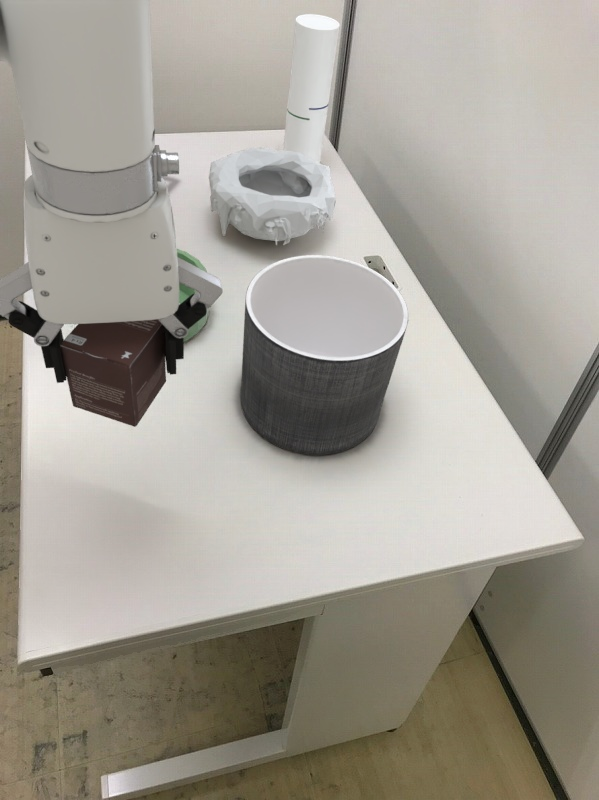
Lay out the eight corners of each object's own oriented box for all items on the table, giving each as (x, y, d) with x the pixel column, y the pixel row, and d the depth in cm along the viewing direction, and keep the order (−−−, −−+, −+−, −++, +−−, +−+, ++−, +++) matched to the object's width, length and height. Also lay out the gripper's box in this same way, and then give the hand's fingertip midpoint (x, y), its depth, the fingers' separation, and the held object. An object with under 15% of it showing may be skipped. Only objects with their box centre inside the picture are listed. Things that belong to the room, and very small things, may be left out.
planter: (230, 446, 75) (234, 348, 63) (249, 344, 87) (255, 245, 75) (380, 465, 75) (412, 371, 64) (378, 360, 87) (405, 265, 76)
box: (168, 383, 57) (166, 320, 52) (135, 430, 53) (130, 368, 48) (106, 362, 58) (98, 298, 53) (70, 407, 54) (57, 343, 49)
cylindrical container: (323, 176, 120) (345, 30, 101) (286, 178, 118) (302, 29, 100) (313, 157, 124) (332, 14, 106) (277, 158, 122) (290, 13, 104)
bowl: (238, 182, 115) (240, 127, 108) (345, 213, 112) (355, 159, 104) (185, 240, 101) (183, 181, 94) (305, 278, 98) (314, 221, 91)
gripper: (223, 143, 45) (215, 330, 58) (-50, 139, 41) (7, 342, 53) (241, 201, 40) (228, 391, 53) (-66, 203, 36) (0, 409, 49)
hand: (117, 365), depth 53 cm, fingers closed on box, 8 cm apart
